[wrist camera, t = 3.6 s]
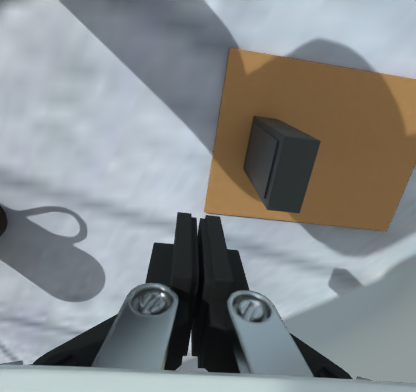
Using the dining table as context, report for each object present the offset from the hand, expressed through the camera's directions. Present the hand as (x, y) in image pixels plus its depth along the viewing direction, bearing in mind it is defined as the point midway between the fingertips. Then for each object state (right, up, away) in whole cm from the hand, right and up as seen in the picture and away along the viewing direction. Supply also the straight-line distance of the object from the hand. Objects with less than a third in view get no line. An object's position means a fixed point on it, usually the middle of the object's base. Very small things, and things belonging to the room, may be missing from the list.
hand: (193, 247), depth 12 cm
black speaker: (+6, +8, +21) cm, 23 cm away
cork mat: (+13, +7, +22) cm, 27 cm away
